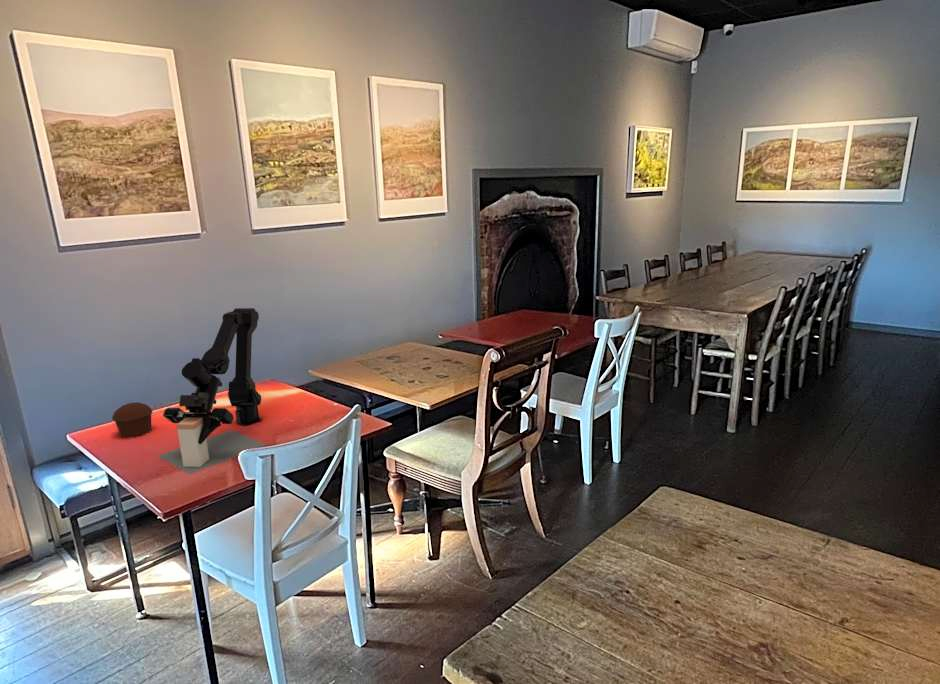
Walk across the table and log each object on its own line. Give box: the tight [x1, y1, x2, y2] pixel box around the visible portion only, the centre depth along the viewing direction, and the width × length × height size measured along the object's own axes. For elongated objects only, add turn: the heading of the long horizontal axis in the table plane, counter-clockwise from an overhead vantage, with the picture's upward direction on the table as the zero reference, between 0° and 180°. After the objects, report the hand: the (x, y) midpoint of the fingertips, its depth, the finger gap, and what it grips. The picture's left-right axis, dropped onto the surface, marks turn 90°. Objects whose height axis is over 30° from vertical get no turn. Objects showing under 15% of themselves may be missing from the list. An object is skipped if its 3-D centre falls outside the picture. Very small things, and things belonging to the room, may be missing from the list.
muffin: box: [111, 401, 153, 438], centre depth 191 cm, size 12×11×10 cm
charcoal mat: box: [157, 429, 266, 475], centre depth 177 cm, size 24×20×1 cm
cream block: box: [176, 418, 209, 467], centre depth 166 cm, size 5×5×13 cm
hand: (190, 443), depth 165 cm, fingers closed on cream block, 5 cm apart
